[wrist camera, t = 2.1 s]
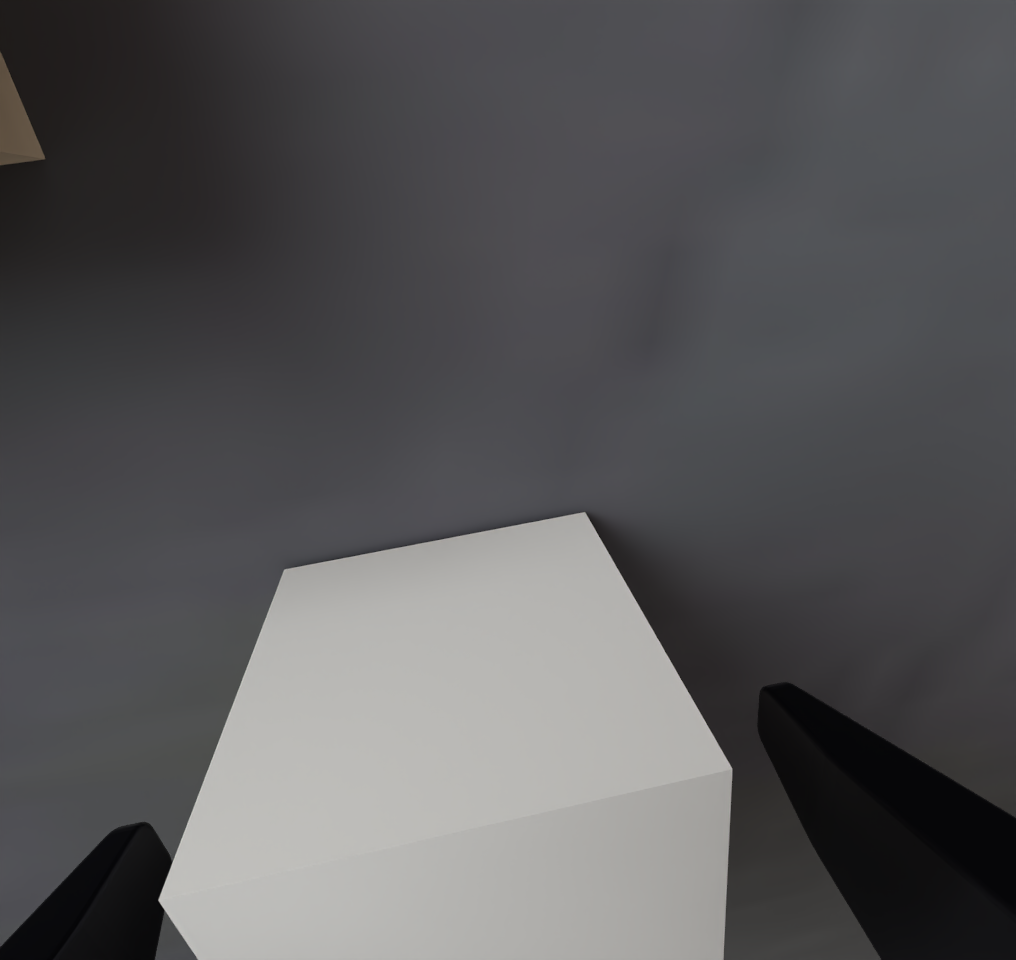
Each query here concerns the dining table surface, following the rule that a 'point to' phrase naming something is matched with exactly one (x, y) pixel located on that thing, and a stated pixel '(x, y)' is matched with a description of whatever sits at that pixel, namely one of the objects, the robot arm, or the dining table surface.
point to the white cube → (459, 769)
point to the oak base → (15, 125)
